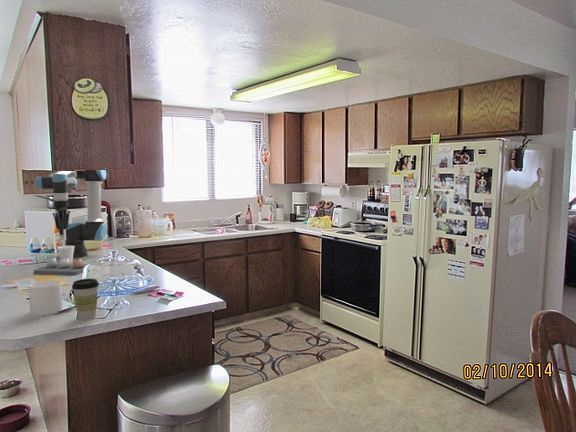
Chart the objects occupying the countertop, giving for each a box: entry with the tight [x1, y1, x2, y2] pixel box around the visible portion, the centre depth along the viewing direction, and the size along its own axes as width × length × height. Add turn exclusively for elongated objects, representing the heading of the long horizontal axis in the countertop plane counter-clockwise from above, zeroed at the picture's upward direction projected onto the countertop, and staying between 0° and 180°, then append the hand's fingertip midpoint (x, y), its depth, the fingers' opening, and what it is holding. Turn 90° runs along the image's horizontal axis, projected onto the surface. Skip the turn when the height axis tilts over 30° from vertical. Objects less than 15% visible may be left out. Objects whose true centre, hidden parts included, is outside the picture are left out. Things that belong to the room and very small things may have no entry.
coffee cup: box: [71, 278, 100, 321], centre depth 168 cm, size 10×10×15 cm
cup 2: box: [56, 245, 75, 264], centre depth 263 cm, size 10×10×11 cm
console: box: [33, 263, 87, 276], centre depth 246 cm, size 18×26×2 cm
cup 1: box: [28, 279, 63, 317], centre depth 175 cm, size 12×12×12 cm
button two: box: [59, 258, 69, 267], centre depth 246 cm, size 5×5×5 cm
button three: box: [72, 257, 83, 268], centre depth 245 cm, size 5×5×5 cm
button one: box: [46, 257, 57, 267], centre depth 246 cm, size 5×5×5 cm
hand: (63, 240), depth 244 cm, fingers closed
